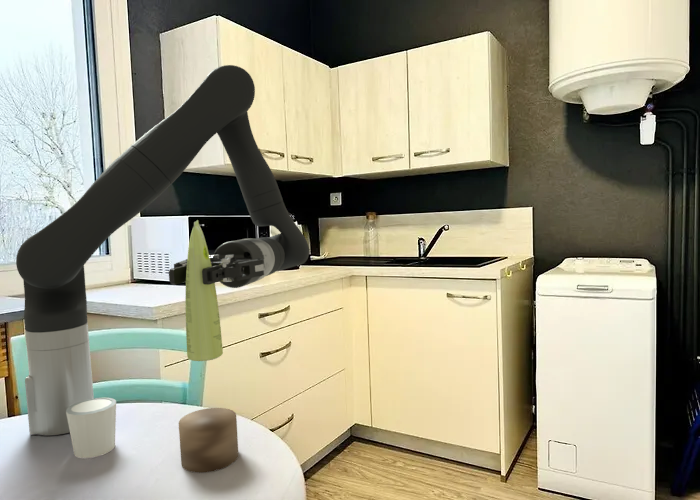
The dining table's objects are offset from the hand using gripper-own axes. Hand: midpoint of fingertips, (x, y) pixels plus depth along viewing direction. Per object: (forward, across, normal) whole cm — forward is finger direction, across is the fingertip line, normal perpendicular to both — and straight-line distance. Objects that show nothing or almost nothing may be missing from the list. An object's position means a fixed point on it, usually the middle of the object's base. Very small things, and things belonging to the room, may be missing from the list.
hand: (188, 276), depth 69 cm
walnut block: (-2, 0, +27) cm, 27 cm away
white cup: (-2, -19, +27) cm, 33 cm away
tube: (-3, 0, +12) cm, 12 cm away
